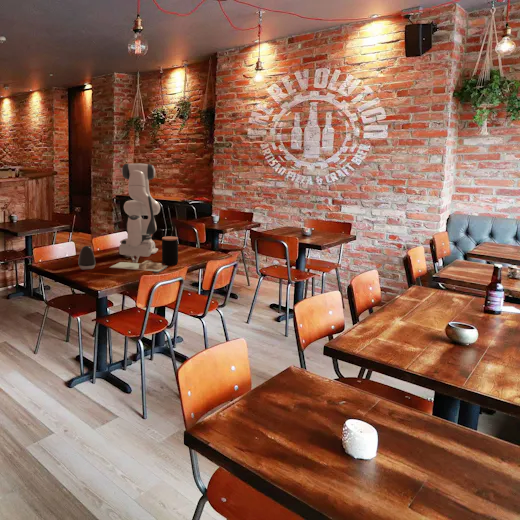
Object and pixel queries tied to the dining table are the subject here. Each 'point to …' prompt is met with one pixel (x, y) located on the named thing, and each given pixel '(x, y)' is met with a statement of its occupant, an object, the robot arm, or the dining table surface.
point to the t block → (150, 265)
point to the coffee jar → (170, 250)
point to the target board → (136, 267)
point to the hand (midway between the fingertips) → (135, 262)
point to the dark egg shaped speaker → (86, 258)
